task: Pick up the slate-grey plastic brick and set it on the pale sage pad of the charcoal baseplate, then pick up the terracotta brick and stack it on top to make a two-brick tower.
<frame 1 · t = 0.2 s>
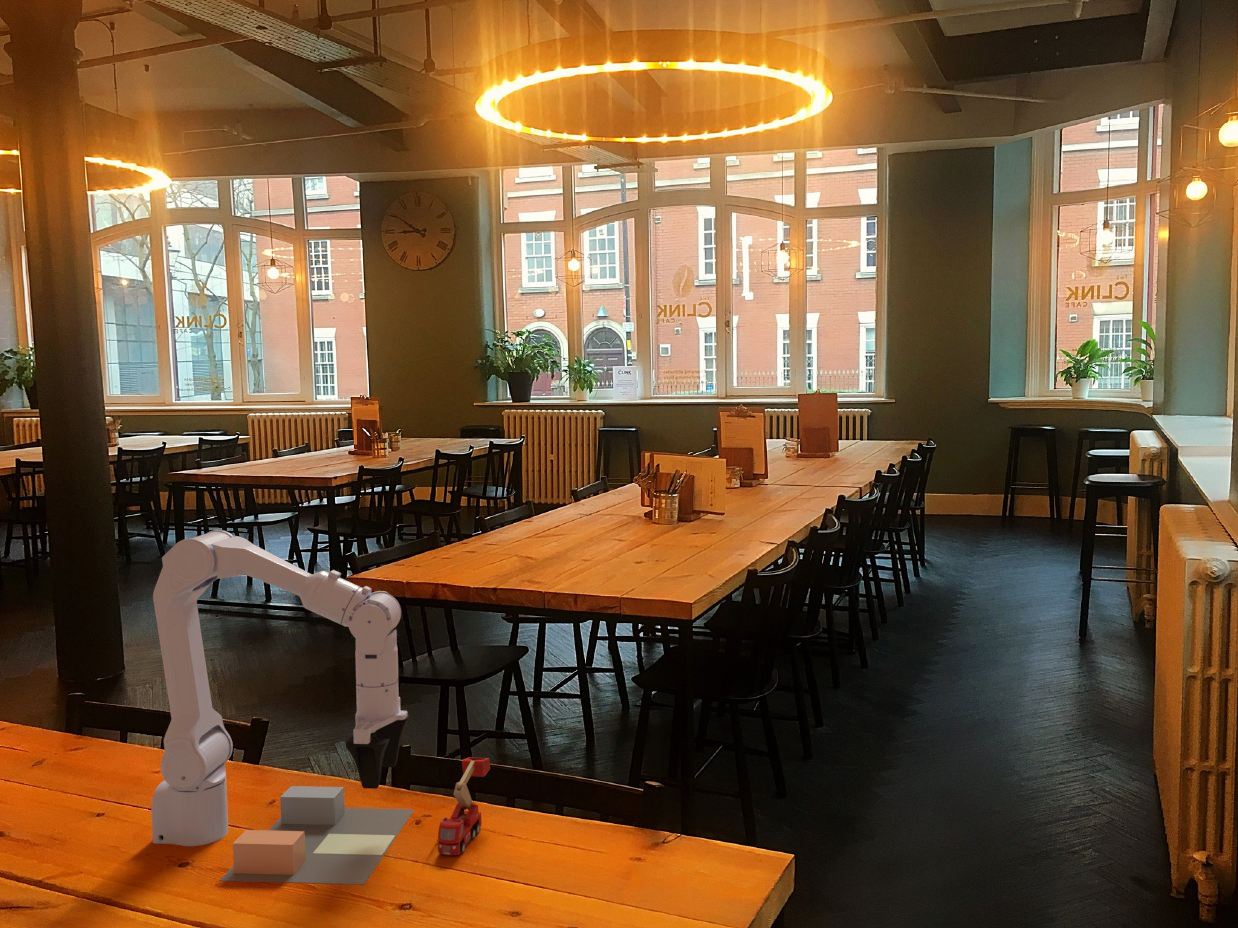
hand: (379, 776, 141), 10 cm above the table, tool pointing down, fingers open, 7 cm apart
slate brick: (313, 818, 147), point 1 cm above the table, touching baseplate
toy fire truck: (464, 837, 144), on the table
terracotta brick: (270, 866, 132), point 1 cm above the table, touching baseplate
baseplate: (324, 850, 139), on the table
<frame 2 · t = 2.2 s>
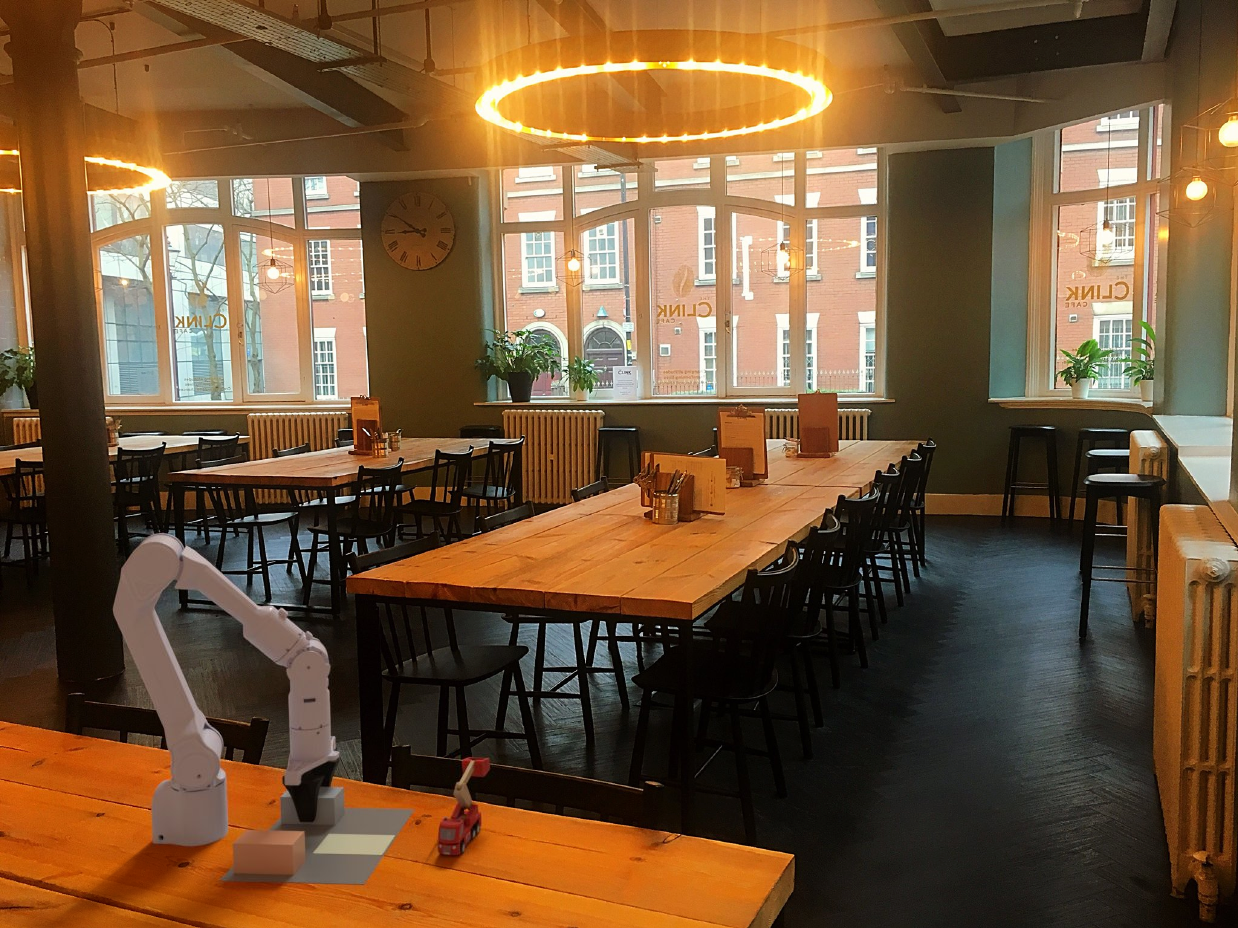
hand: (313, 814, 147), 2 cm above the table, tool pointing down, fingers closed on slate brick, 4 cm apart
slate brick: (313, 818, 147), point 1 cm above the table, touching baseplate, gripper
everything else where it was.
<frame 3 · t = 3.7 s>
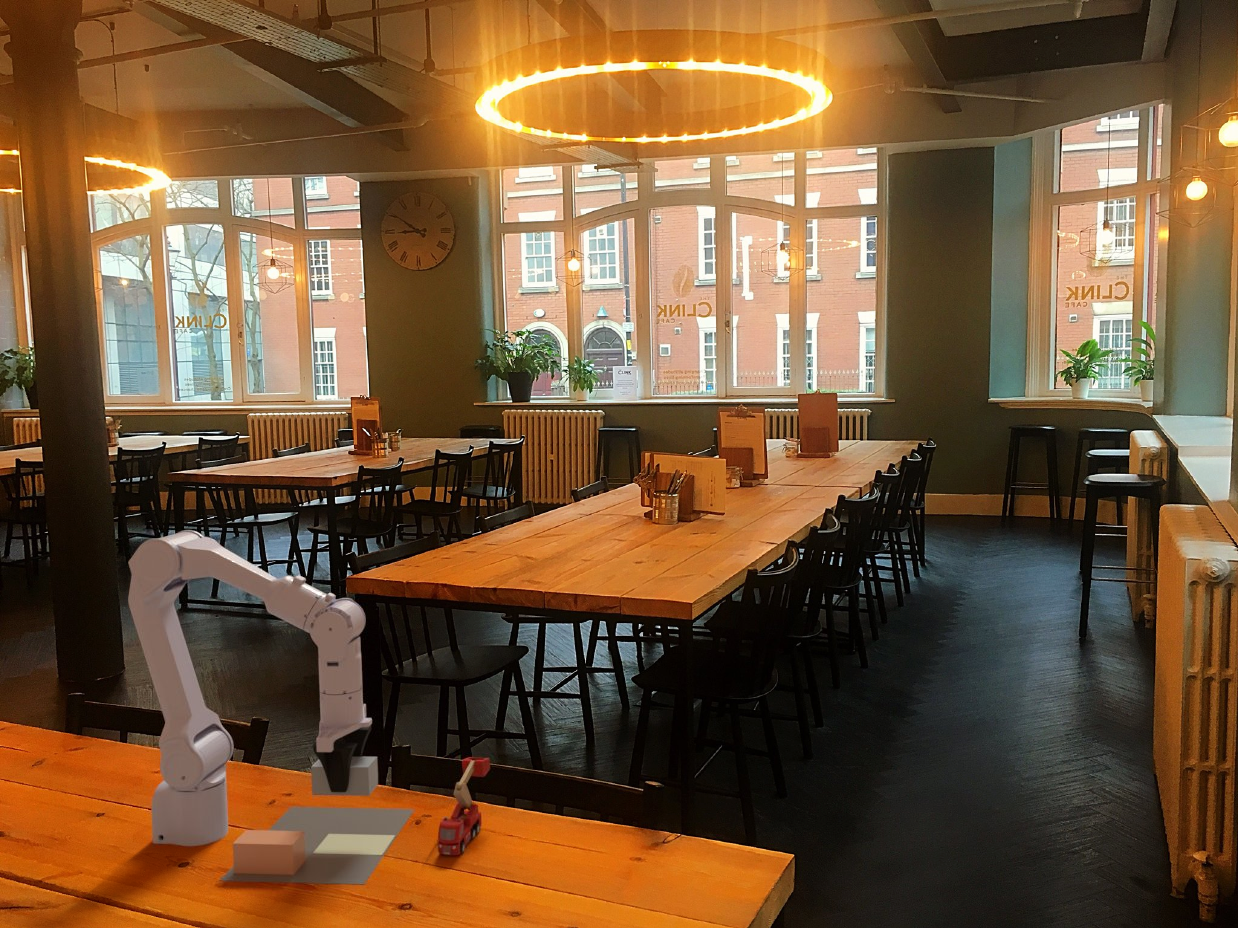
hand: (344, 784, 140), 9 cm above the table, tool pointing down, fingers closed on slate brick, 4 cm apart
slate brick: (345, 789, 140), point 8 cm above the table, touching gripper
everything else where it was.
when the fingers open (3 cm above the table, at t = 5.3 s): slate brick drops 1 cm, resting on baseplate.
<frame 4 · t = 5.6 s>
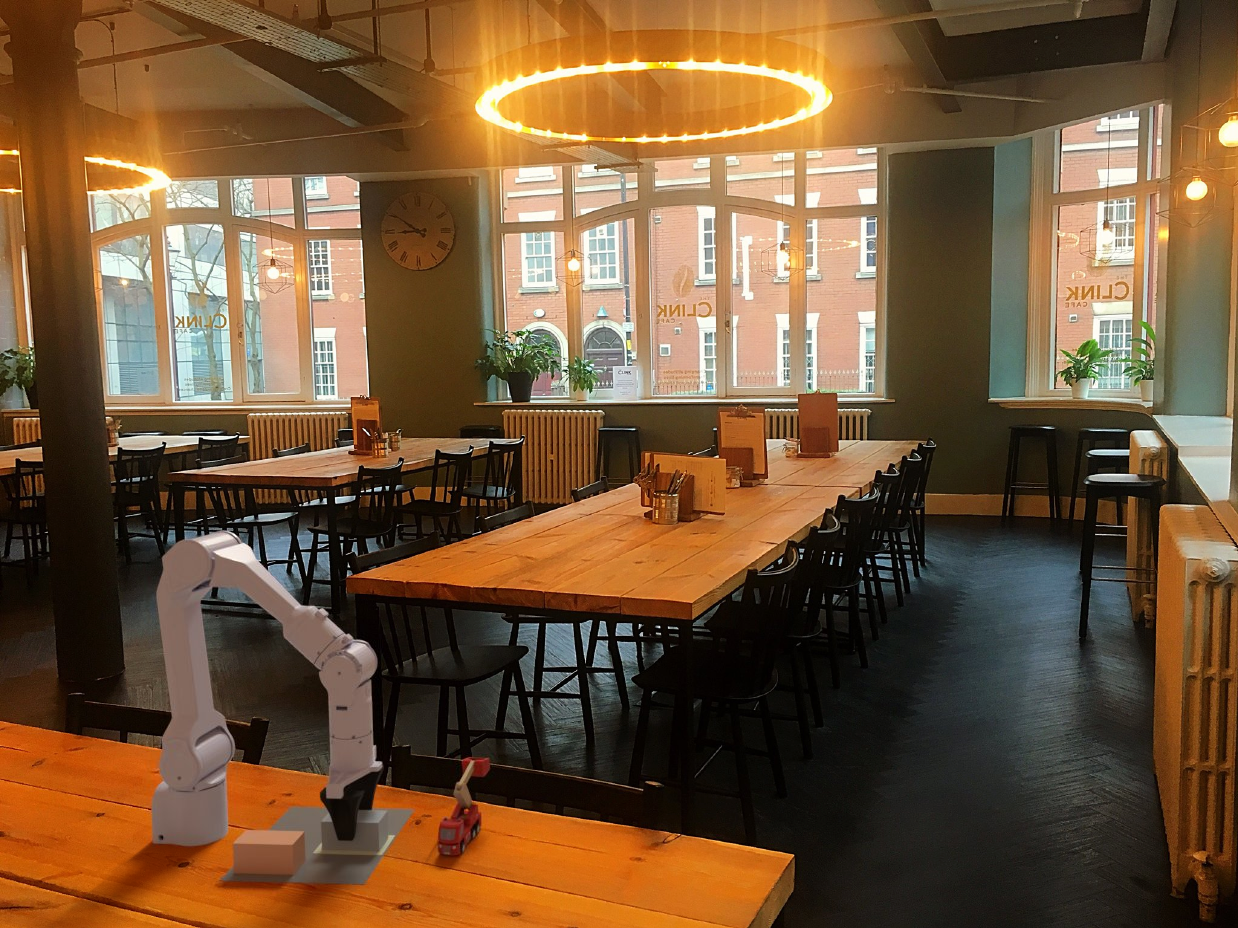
hand: (354, 828, 138), 3 cm above the table, tool pointing down, fingers open, 6 cm apart
slate brick: (355, 844, 139), point 1 cm above the table, touching baseplate
everything else where it was.
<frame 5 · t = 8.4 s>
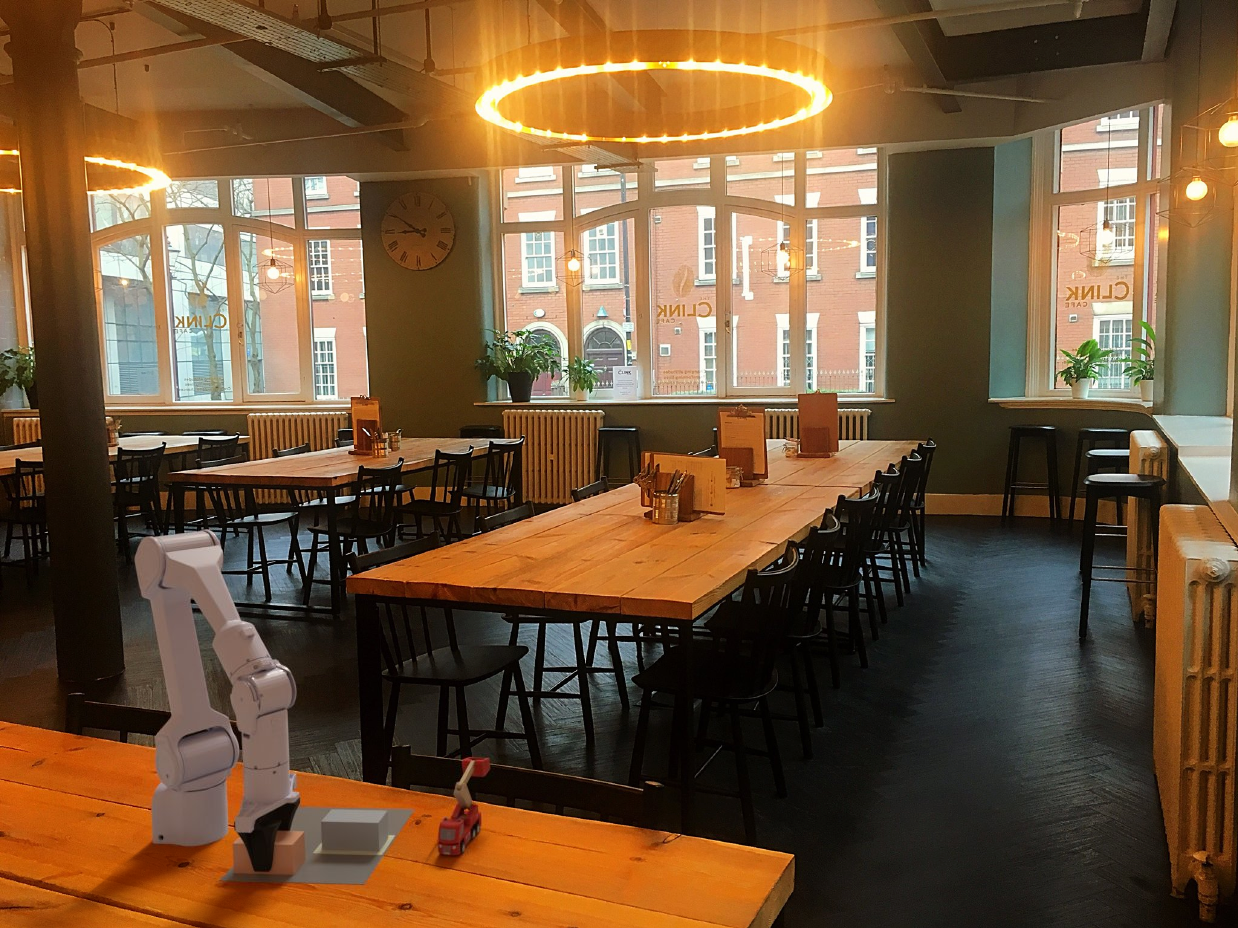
hand: (269, 862, 132), 2 cm above the table, tool pointing down, fingers closed on terracotta brick, 4 cm apart
terracotta brick: (270, 866, 132), point 1 cm above the table, touching baseplate, gripper
everything else where it was.
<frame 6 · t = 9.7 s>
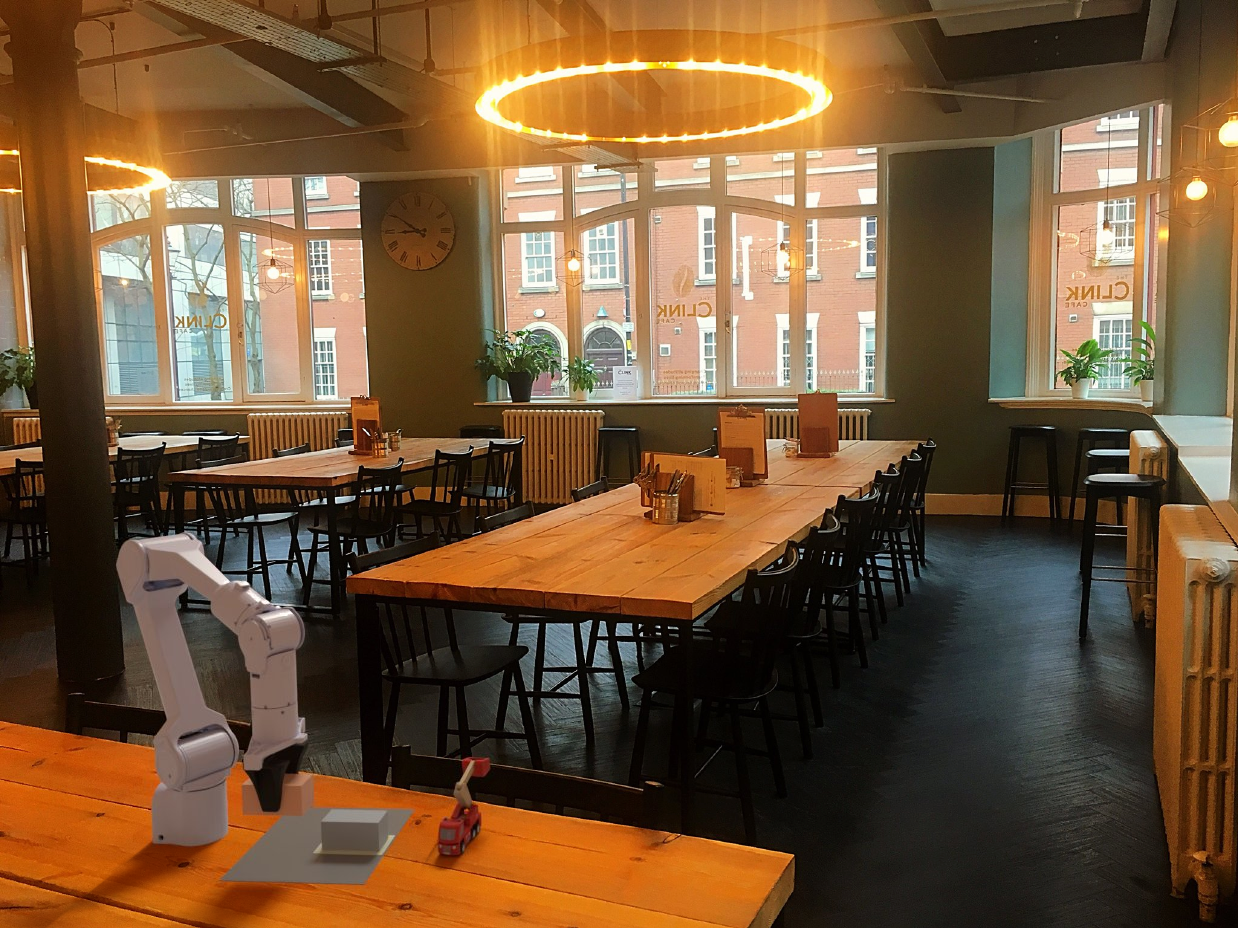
hand: (278, 803, 132), 9 cm above the table, tool pointing down, fingers closed on terracotta brick, 4 cm apart
terracotta brick: (278, 809, 132), point 9 cm above the table, touching gripper
everything else where it was.
when the fingers open (7 cm above the table, at t = 11.1 s): terracotta brick drops 1 cm, resting on slate brick.
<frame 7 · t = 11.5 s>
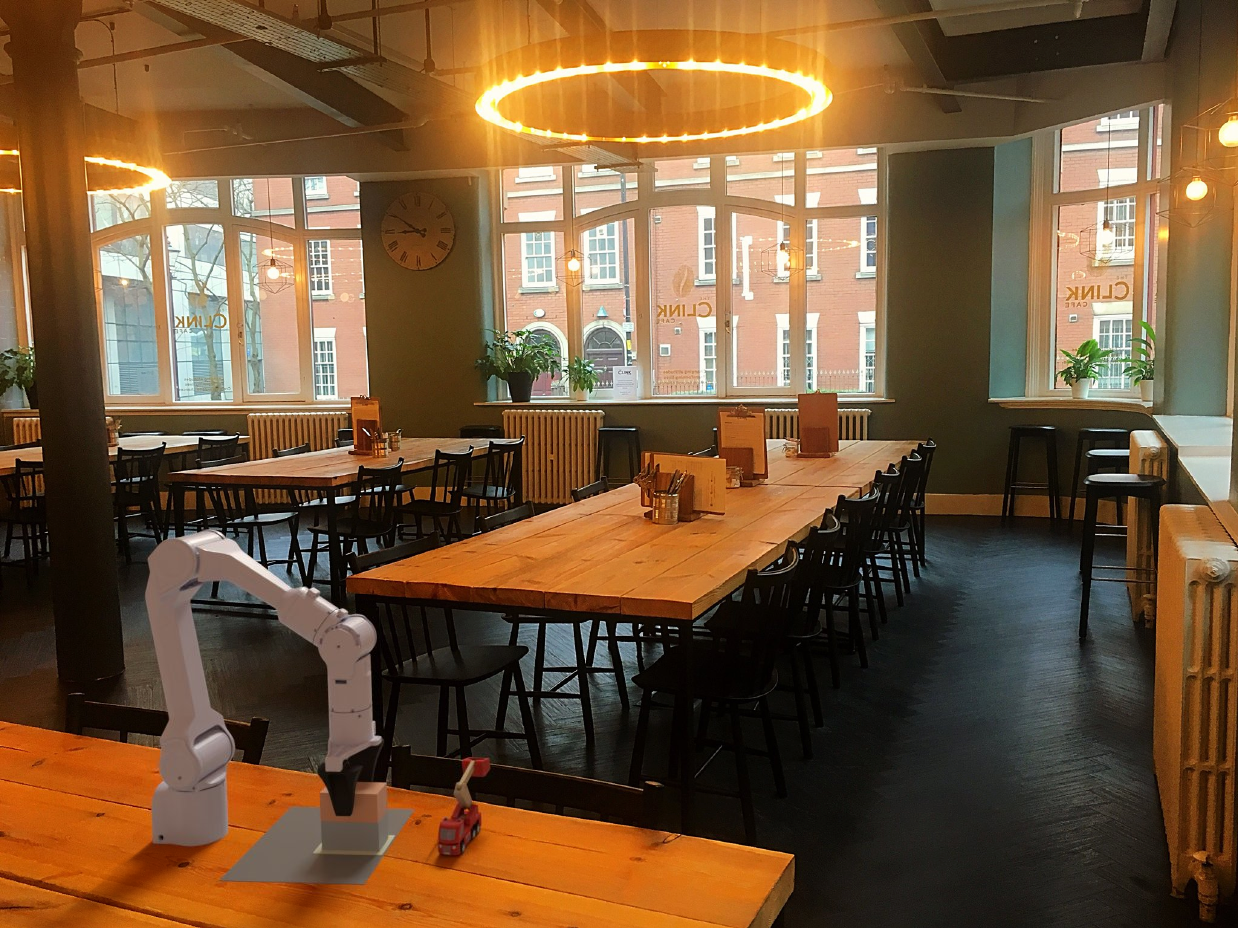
hand: (353, 803, 138), 7 cm above the table, tool pointing down, fingers open, 7 cm apart
slate brick: (355, 844, 139), point 1 cm above the table, touching baseplate, terracotta brick
terracotta brick: (354, 815, 138), point 5 cm above the table, touching slate brick
everything else where it was.
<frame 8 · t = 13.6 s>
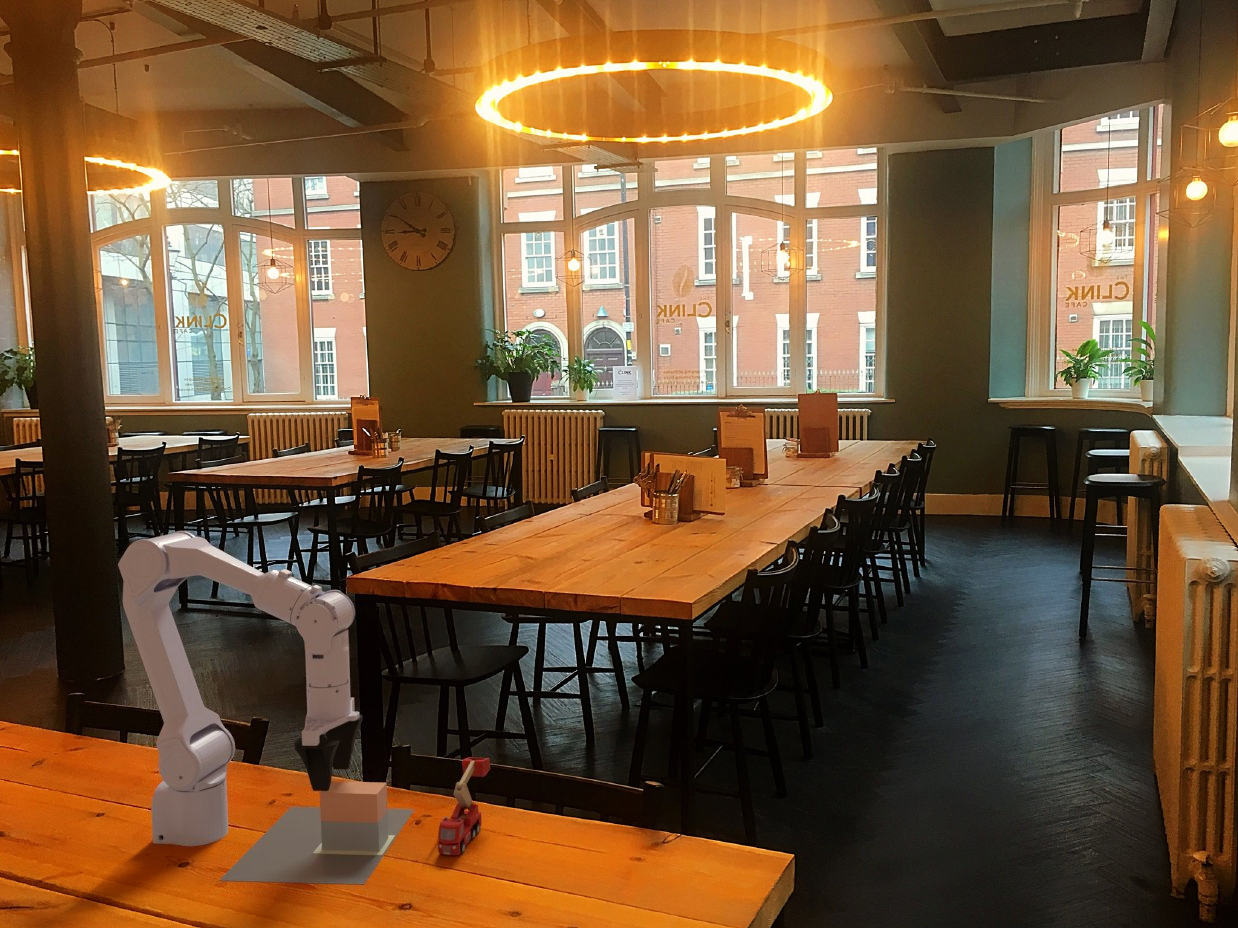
hand: (331, 779, 138), 10 cm above the table, tool pointing down, fingers open, 7 cm apart
nothing on the table moved.
at the end: slate brick 0.1 cm from the target spot, point 1.2 cm above the table; terracotta brick 0.0 cm off-centre on the slate brick, point 4.0 cm above the slate brick's base; terracotta brick tilted 0° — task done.
